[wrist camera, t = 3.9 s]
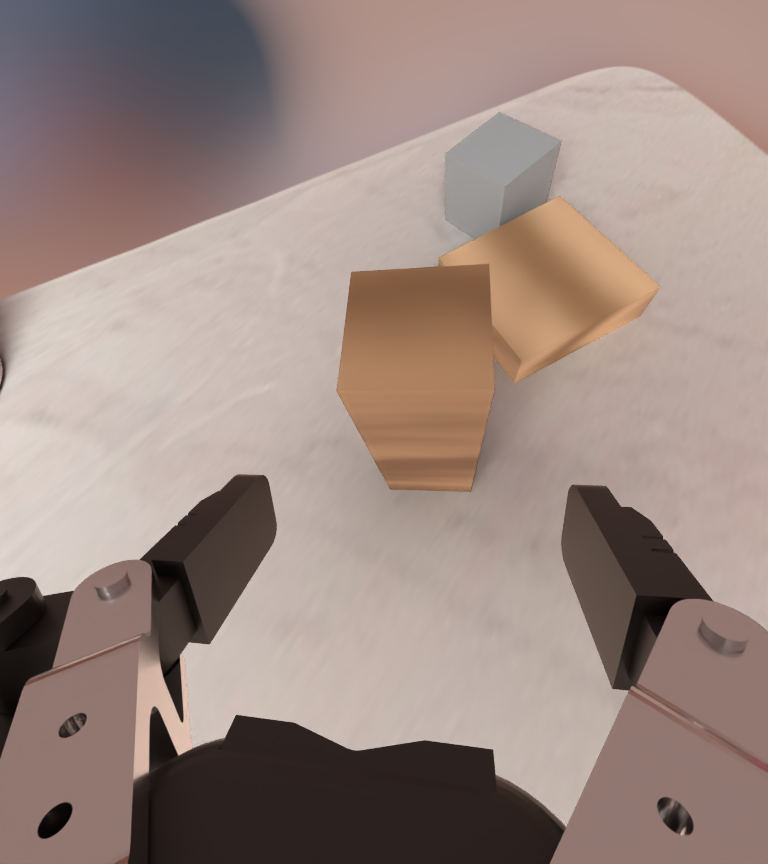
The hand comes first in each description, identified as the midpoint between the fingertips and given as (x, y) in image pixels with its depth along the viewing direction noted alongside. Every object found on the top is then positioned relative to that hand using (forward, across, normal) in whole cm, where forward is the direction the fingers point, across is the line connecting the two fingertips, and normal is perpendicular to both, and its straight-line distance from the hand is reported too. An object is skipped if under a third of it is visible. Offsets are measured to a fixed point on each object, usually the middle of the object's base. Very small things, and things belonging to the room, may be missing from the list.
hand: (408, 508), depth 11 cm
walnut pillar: (+12, 0, +4) cm, 13 cm away
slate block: (+25, -4, -9) cm, 27 cm away
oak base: (+20, -6, -3) cm, 21 cm away
